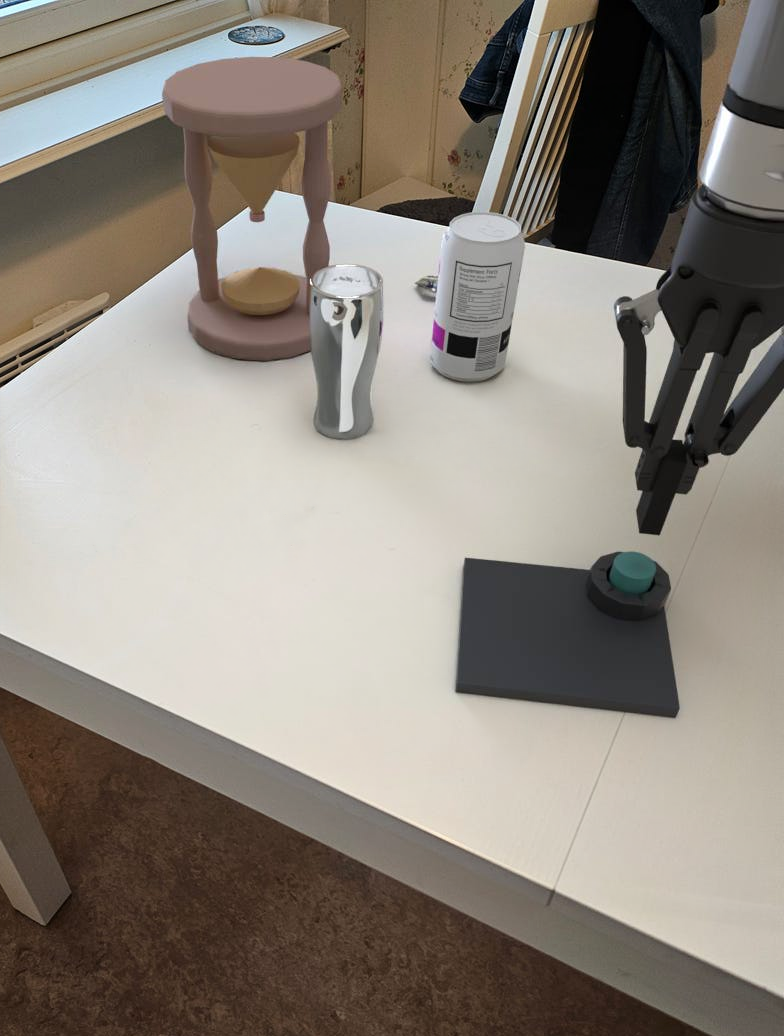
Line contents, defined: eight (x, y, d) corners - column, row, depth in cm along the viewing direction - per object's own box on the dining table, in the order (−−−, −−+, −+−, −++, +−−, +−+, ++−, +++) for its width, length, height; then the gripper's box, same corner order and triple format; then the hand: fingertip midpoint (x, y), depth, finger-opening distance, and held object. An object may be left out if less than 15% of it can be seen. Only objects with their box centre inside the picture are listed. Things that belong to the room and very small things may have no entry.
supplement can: (413, 363, 99) (425, 225, 88) (463, 338, 103) (481, 202, 92) (469, 393, 95) (489, 252, 84) (519, 365, 99) (544, 227, 88)
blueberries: (408, 281, 112) (410, 266, 111) (470, 275, 113) (472, 260, 112) (423, 307, 108) (424, 291, 107) (487, 300, 109) (489, 285, 107)
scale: (656, 582, 75) (666, 555, 73) (676, 718, 66) (688, 692, 63) (463, 563, 77) (467, 536, 75) (455, 693, 68) (459, 666, 65)
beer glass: (389, 417, 92) (399, 274, 81) (353, 450, 88) (359, 306, 77) (333, 396, 95) (335, 256, 84) (295, 428, 91) (292, 285, 80)
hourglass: (158, 337, 104) (124, 94, 85) (239, 276, 114) (224, 47, 96) (290, 376, 98) (284, 124, 79) (363, 308, 108) (373, 70, 90)
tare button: (648, 569, 73) (654, 553, 71) (652, 596, 71) (658, 580, 69) (607, 565, 73) (612, 549, 72) (610, 592, 71) (615, 576, 70)
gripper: (651, 214, 48) (560, 546, 65) (910, 230, 47) (746, 565, 64) (639, 162, 53) (557, 483, 70) (872, 175, 52) (730, 500, 69)
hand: (647, 522), depth 67 cm, fingers closed
